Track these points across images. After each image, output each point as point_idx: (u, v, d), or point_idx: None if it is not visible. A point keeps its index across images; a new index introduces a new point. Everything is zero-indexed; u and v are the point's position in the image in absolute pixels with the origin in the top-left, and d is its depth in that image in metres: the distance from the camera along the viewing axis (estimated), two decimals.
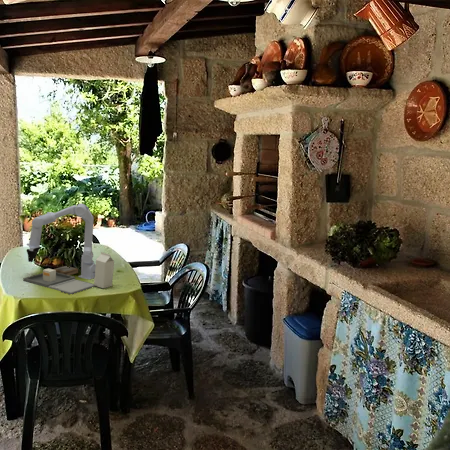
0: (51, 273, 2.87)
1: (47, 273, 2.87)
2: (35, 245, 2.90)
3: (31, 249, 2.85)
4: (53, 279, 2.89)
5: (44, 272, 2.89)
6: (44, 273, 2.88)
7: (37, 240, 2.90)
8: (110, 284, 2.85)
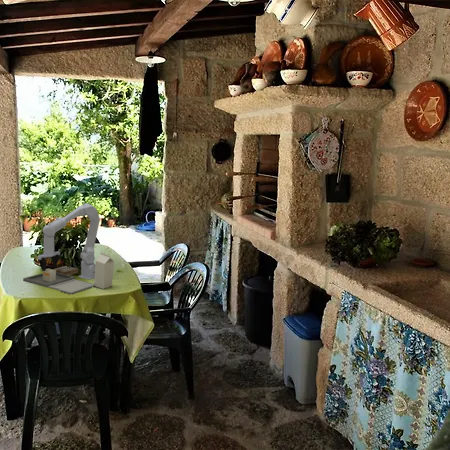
0: (51, 273, 2.87)
1: (47, 273, 2.87)
2: (46, 254, 2.85)
3: (38, 257, 2.82)
4: (53, 279, 2.89)
5: (44, 272, 2.89)
6: (44, 273, 2.88)
7: (48, 249, 2.84)
8: (110, 284, 2.85)
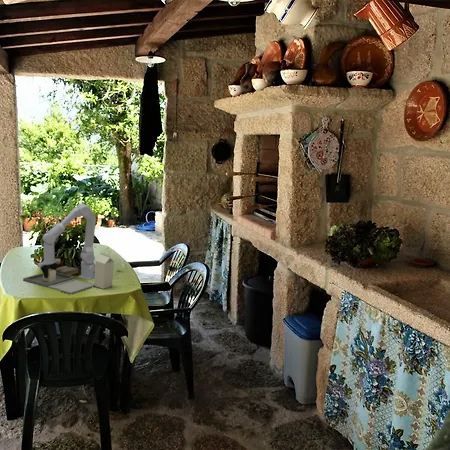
0: (51, 273, 2.87)
1: None
2: (47, 262, 2.86)
3: (39, 265, 2.82)
4: (53, 279, 2.89)
5: None
6: None
7: (48, 256, 2.85)
8: (110, 284, 2.85)
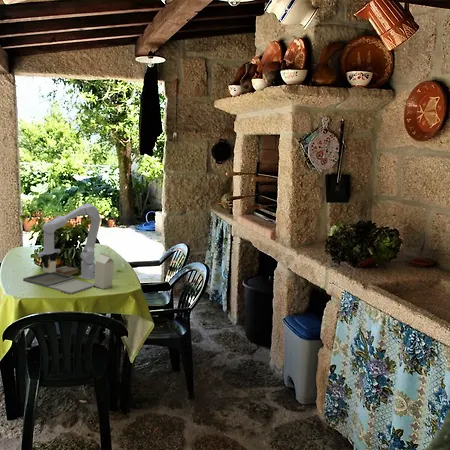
0: (51, 264, 2.86)
1: None
2: (46, 251, 2.84)
3: (38, 255, 2.81)
4: (53, 270, 2.88)
5: None
6: None
7: (48, 246, 2.84)
8: (110, 284, 2.85)
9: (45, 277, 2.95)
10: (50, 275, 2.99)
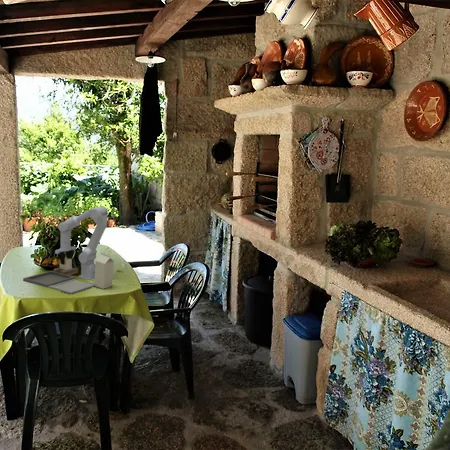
0: (67, 262, 3.02)
1: None
2: (63, 249, 3.00)
3: (56, 252, 2.97)
4: (69, 267, 3.04)
5: None
6: None
7: (64, 244, 3.00)
8: (110, 284, 2.85)
9: (45, 277, 2.95)
10: (50, 275, 2.99)
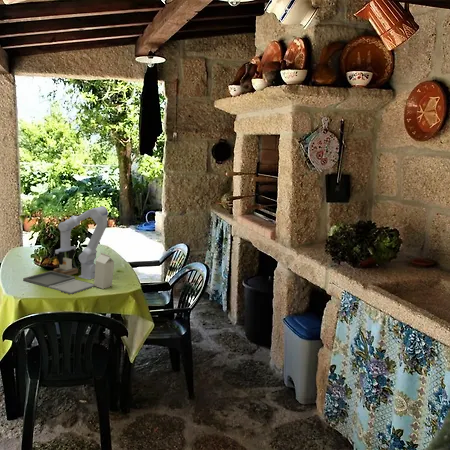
0: (67, 262, 3.02)
1: (64, 262, 3.03)
2: (63, 248, 3.00)
3: (56, 252, 2.97)
4: (69, 267, 3.04)
5: None
6: None
7: (64, 243, 3.00)
8: (110, 284, 2.85)
9: (45, 277, 2.95)
10: (50, 275, 2.99)
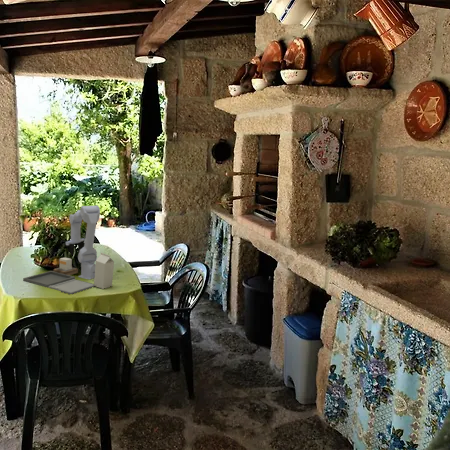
0: (67, 262, 3.02)
1: (64, 262, 3.03)
2: (74, 240, 3.11)
3: (66, 243, 3.08)
4: (69, 267, 3.04)
5: (61, 261, 3.04)
6: (61, 262, 3.04)
7: (75, 235, 3.10)
8: (110, 284, 2.85)
9: (45, 277, 2.95)
10: (50, 275, 2.99)
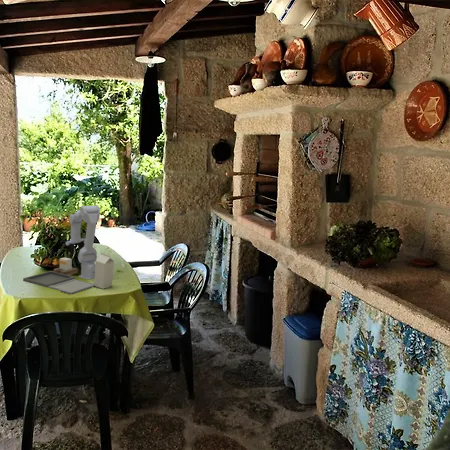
0: (67, 262, 3.02)
1: (64, 262, 3.03)
2: (74, 240, 3.11)
3: (66, 243, 3.08)
4: (69, 267, 3.04)
5: (61, 261, 3.04)
6: (61, 262, 3.04)
7: (75, 235, 3.10)
8: (110, 284, 2.85)
9: (45, 277, 2.95)
10: (50, 275, 2.99)
